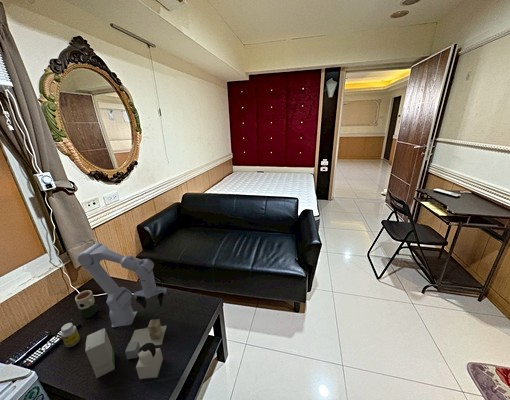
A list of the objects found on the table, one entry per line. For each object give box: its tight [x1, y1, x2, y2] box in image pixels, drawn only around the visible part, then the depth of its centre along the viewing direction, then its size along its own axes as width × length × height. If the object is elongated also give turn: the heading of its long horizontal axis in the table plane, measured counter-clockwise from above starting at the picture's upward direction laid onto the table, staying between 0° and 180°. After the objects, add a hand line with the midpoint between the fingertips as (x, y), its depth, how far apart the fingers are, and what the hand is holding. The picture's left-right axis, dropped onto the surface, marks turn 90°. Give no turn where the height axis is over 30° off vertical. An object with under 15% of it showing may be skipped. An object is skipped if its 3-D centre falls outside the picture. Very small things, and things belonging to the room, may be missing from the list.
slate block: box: [124, 341, 140, 360], centre depth 93 cm, size 4×4×5 cm
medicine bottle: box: [135, 343, 164, 380], centre depth 86 cm, size 7×7×12 cm
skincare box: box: [85, 327, 116, 379], centre depth 87 cm, size 8×7×16 cm
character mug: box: [74, 289, 98, 319], centre depth 112 cm, size 11×7×13 cm, turn 70°
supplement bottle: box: [60, 322, 81, 348], centre depth 98 cm, size 5×5×10 cm
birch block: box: [147, 318, 162, 340], centre depth 100 cm, size 4×4×8 cm
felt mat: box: [129, 325, 167, 348], centre depth 101 cm, size 15×10×1 cm, turn 99°
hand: (153, 305), depth 106 cm, fingers open, 7 cm apart
